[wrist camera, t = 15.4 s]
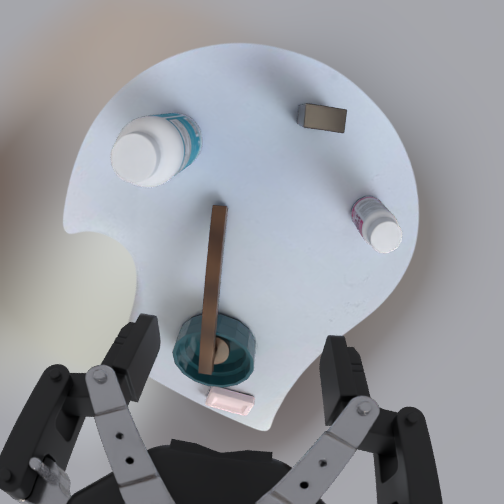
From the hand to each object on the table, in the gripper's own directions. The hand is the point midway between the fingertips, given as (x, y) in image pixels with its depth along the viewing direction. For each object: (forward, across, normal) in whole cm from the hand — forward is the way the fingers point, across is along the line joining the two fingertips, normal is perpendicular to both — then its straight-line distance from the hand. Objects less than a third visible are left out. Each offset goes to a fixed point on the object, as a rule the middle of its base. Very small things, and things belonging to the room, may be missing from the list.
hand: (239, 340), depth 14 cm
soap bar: (+28, +3, +43) cm, 52 cm away
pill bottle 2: (+28, -14, +2) cm, 32 cm away
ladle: (+31, +5, +18) cm, 36 cm away
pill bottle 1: (+28, +12, -5) cm, 31 cm away
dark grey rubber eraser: (+28, -5, -10) cm, 30 cm away
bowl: (+28, +5, +27) cm, 40 cm away
